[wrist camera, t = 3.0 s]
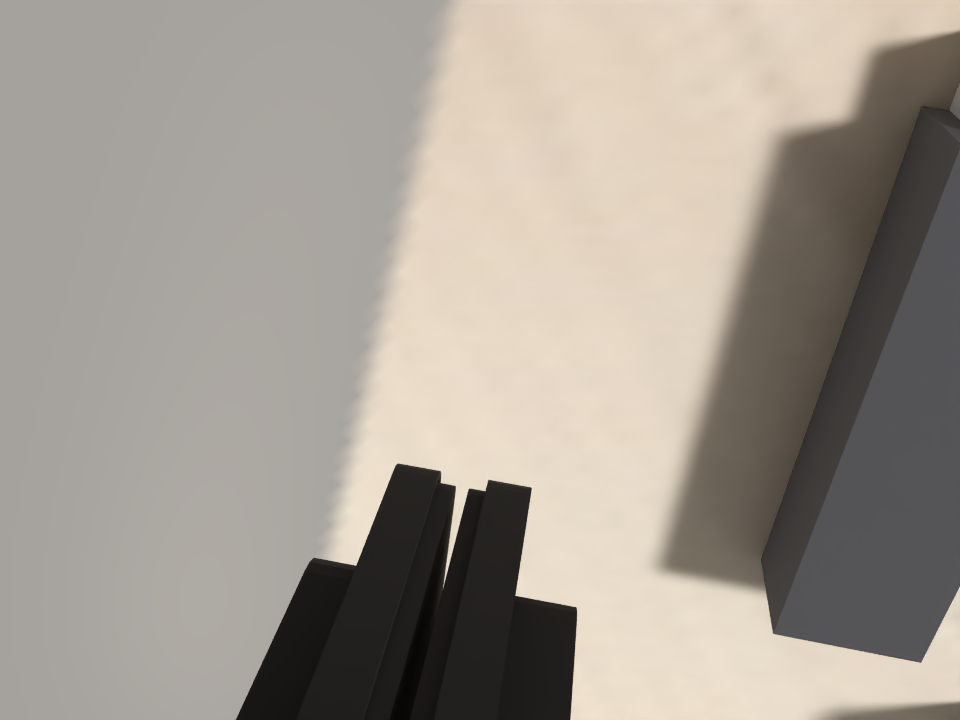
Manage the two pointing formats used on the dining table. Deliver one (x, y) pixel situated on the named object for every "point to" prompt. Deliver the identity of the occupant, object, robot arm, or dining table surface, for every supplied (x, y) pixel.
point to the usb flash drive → (884, 434)
